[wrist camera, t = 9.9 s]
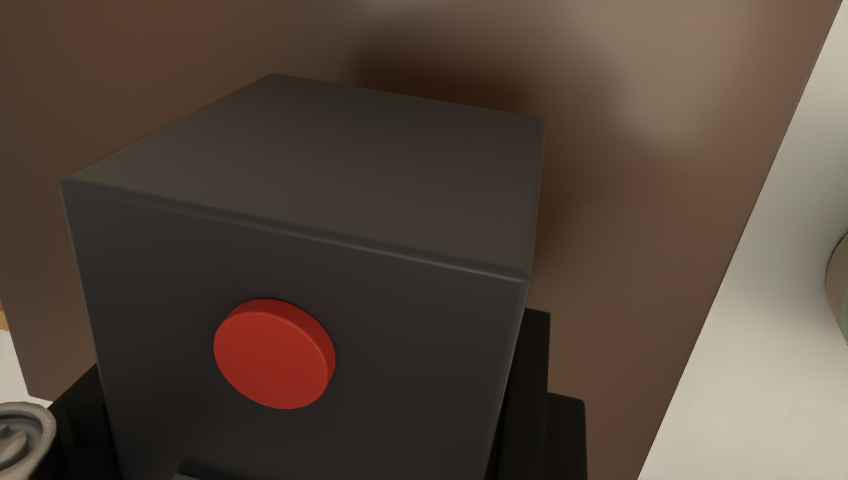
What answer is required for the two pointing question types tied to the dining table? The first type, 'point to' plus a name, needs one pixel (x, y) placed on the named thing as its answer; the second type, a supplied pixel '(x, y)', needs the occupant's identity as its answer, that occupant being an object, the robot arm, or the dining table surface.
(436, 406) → the red button box
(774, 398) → the dining table surface
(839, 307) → the coffee cup
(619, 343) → the cabinet
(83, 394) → the robot arm
